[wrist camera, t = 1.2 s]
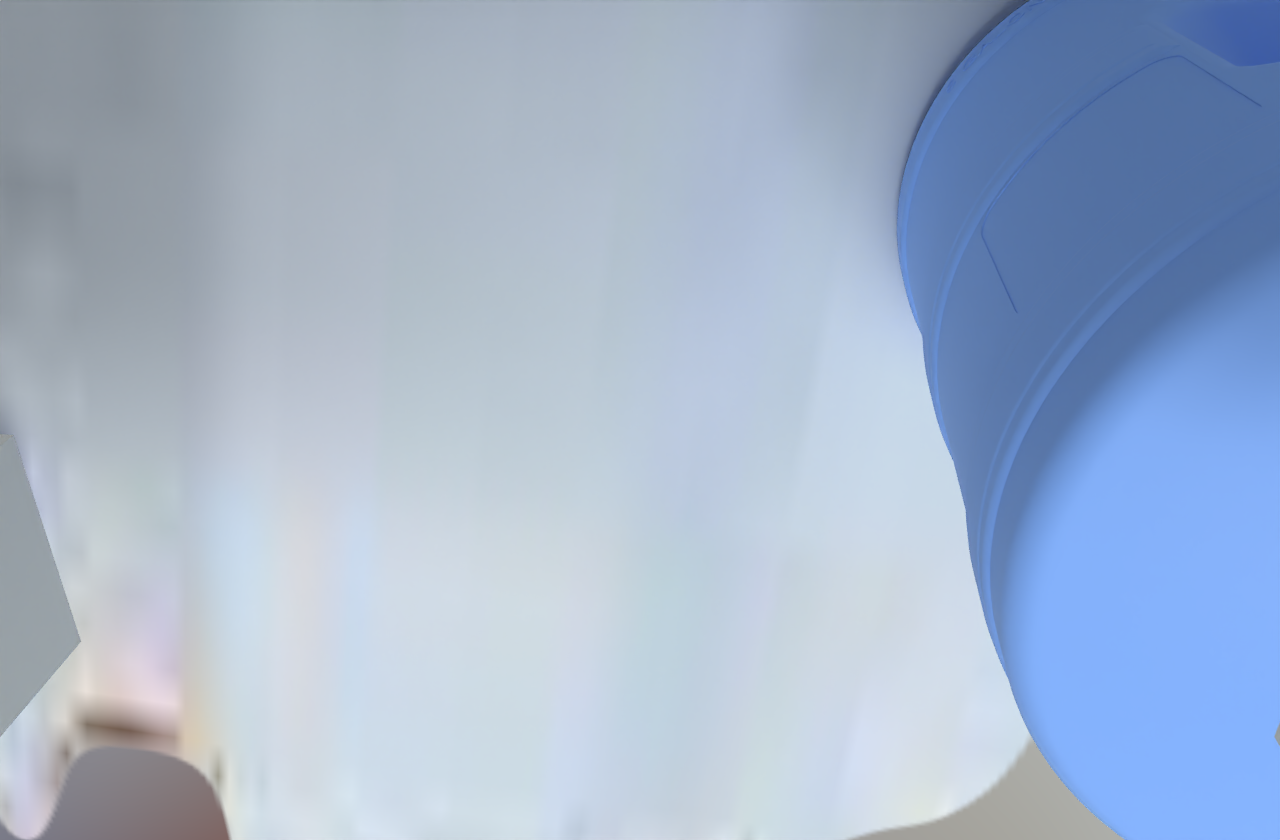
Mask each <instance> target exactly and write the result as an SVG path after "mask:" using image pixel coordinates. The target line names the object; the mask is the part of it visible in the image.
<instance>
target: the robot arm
mask: <svg viewBox="0 0 1280 840" xmlns="http://www.w3.org/2000/svg"><path fill="white" fill-rule="evenodd" d="M80 642H81V640H80V637H79V634H78V631H77V628H76V625H75V622H74V619H73V616H72V613H71V610H70V607H69V603H68V600H67V597H66V594H65V591H64V588H63V585H62V582H61V579H60V576H59V573H58V570H57V567H56V564H55V561H54V558H53V554H52V551H51V548H50V545H49V542H48V539H47V536H46V533H45V530H44V527H43V524H42V521H41V518H40V515H39V512H38V509H37V506H36V502H35V499H34V496H33V493H32V490H31V487H30V484H29V481H28V478H27V475H26V472H25V469H24V466H23V463H22V460H21V457H20V453H19V450H18V447H17V444H16V441H15V438H14V435H2V434H0V737H1V735H2V734H3V733H4V732H5V731H6V729H7V728H8V727H9V726H10V725H11V724H12V722H13V721H14V720H15V719H16V718H17V716H18V715H19V714H20V713H21V712H22V711H23V709H24V708H25V707H26V706H27V705H28V703H29V702H30V701H31V700H32V699H33V698H34V696H35V695H36V694H37V693H38V692H39V690H40V689H41V688H42V687H43V686H44V685H45V683H46V682H47V681H48V680H49V679H50V677H51V676H52V675H53V674H54V673H55V672H56V670H57V669H58V668H59V667H60V666H61V664H62V663H63V662H64V661H65V660H66V658H67V657H68V656H69V655H70V654H71V653H72V651H73V650H74V649H75V648H76V647H77V645H78V644H79V643H80ZM1274 737H1275V739H1276V741H1277V742H1278V744H1279V746H1280V723H1279V726H1278V728H1277V731H1276V733H1275V736H1274Z"/></svg>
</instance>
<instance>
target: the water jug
mask: <svg viewBox="0 0 1280 840" xmlns="http://www.w3.org/2000/svg"><path fill="white" fill-rule="evenodd" d="M897 241H898V253H899V260H900V266H901V272H902V276H903V280H904V285H905V289H906V293H907V297H908V300H909V304H910V307H911V310H912V313H913V316H914V318H915V321H916V323H917V325H918V328H919V330H920V332H921V334H922V337H923V350H924V361H925V369H926V375H927V380H928V385H929V389H930V393H931V397H932V401H933V405H934V410H935V414H936V417H937V421H938V424H939V427H940V430H941V433H942V436H943V438H944V441H945V443H946V446H947V448H948V450H949V453H950V455H951V457H952V459H953V461H954V465H955V469H956V473H957V477H958V481H959V485H960V489H961V493H962V497H963V501H964V505H965V509H966V522H967V532H968V543H969V550H970V556H971V562H972V567H973V571H974V575H975V580H976V584H977V588H978V592H979V596H980V600H981V604H982V608H983V612H984V616H985V620H986V623H987V627H988V630H989V633H990V636H991V638H992V641H993V644H994V646H995V649H996V652H997V654H998V657H999V659H1000V662H1001V664H1002V667H1003V669H1004V671H1005V673H1006V675H1007V677H1008V679H1009V682H1010V686H1011V689H1012V692H1013V695H1014V698H1015V701H1016V703H1017V706H1018V709H1019V711H1020V713H1021V716H1022V718H1023V720H1024V722H1025V724H1026V726H1027V729H1028V730H1029V732H1030V734H1031V736H1032V738H1033V740H1034V742H1035V743H1036V745H1037V747H1038V748H1039V750H1040V752H1041V753H1042V755H1043V756H1044V758H1045V759H1046V761H1047V762H1048V764H1049V765H1050V766H1051V768H1052V769H1053V770H1054V772H1055V773H1056V774H1057V776H1058V777H1059V778H1060V779H1061V781H1062V782H1063V783H1064V784H1065V785H1066V787H1067V788H1068V789H1069V790H1070V791H1071V792H1072V793H1073V794H1074V796H1075V797H1077V799H1078V800H1079V801H1080V802H1081V803H1082V804H1083V805H1084V806H1085V807H1086V808H1087V809H1088V810H1089V811H1091V812H1092V813H1093V814H1094V815H1095V816H1096V817H1097V818H1098V819H1099V820H1101V821H1102V822H1103V823H1104V824H1105V825H1107V826H1108V827H1109V828H1111V829H1112V830H1113V831H1114V832H1115V833H1117V834H1118V835H1119V836H1121V837H1122V838H1124V839H1125V840H1280V746H1279V744H1278V742H1277V741H1276V739H1275V737H1274V736H1275V733H1276V731H1277V728H1278V726H1279V723H1280V0H1029V1H1028V2H1026V3H1025V4H1024V5H1022V6H1021V7H1019V8H1018V9H1017V10H1015V11H1014V12H1013V13H1012V14H1010V15H1009V16H1008V17H1007V18H1005V19H1004V20H1003V21H1002V22H1001V23H999V24H998V25H997V26H996V27H995V28H994V29H993V30H992V31H990V32H989V33H988V34H987V35H986V36H985V37H984V38H983V39H982V40H981V41H980V42H979V43H978V44H977V45H976V46H975V47H974V48H973V50H972V51H971V52H970V53H969V54H968V55H967V56H966V57H965V59H964V60H963V61H962V62H961V63H960V65H959V66H958V67H957V68H956V70H955V71H954V72H953V73H952V75H951V76H950V78H949V79H948V80H947V82H946V83H945V85H944V86H943V88H942V89H941V91H940V92H939V94H938V95H937V97H936V99H935V100H934V102H933V104H932V105H931V107H930V109H929V111H928V113H927V115H926V117H925V119H924V121H923V123H922V125H921V127H920V129H919V131H918V134H917V136H916V138H915V141H914V143H913V146H912V149H911V152H910V155H909V158H908V161H907V164H906V168H905V172H904V176H903V180H902V185H901V190H900V197H899V205H898V217H897Z"/></svg>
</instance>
